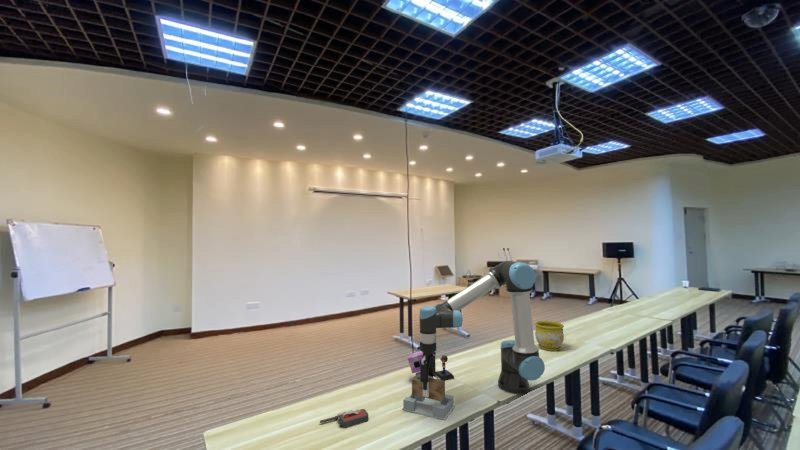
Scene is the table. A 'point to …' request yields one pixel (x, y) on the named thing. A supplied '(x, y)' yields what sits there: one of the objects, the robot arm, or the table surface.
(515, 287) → the robot arm
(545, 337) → the flowerpot
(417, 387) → the wooden block
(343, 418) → the chainsaw
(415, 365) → the toy
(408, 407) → the jig
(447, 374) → the figurine
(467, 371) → the table surface
